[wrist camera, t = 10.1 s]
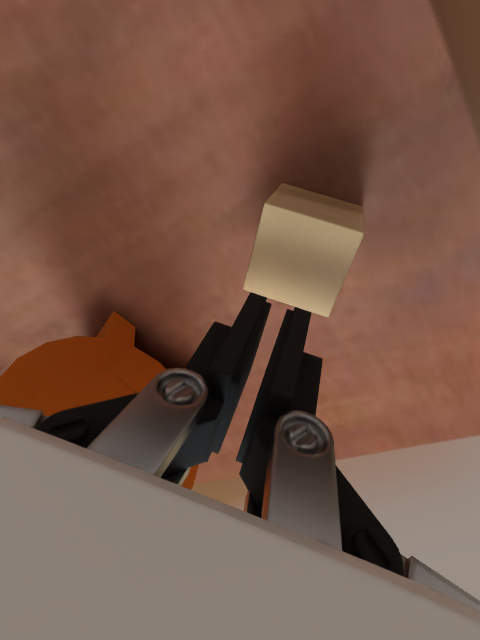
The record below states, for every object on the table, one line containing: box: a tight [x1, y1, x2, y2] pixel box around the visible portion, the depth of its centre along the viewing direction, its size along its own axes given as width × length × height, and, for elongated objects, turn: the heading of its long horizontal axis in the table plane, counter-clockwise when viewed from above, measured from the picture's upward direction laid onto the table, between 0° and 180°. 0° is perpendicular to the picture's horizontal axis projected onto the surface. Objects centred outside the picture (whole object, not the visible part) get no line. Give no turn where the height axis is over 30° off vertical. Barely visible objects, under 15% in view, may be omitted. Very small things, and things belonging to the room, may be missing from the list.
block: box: [243, 183, 364, 317], centre depth 19 cm, size 5×5×5 cm
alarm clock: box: [0, 311, 198, 490], centre depth 22 cm, size 13×6×20 cm, turn 52°
